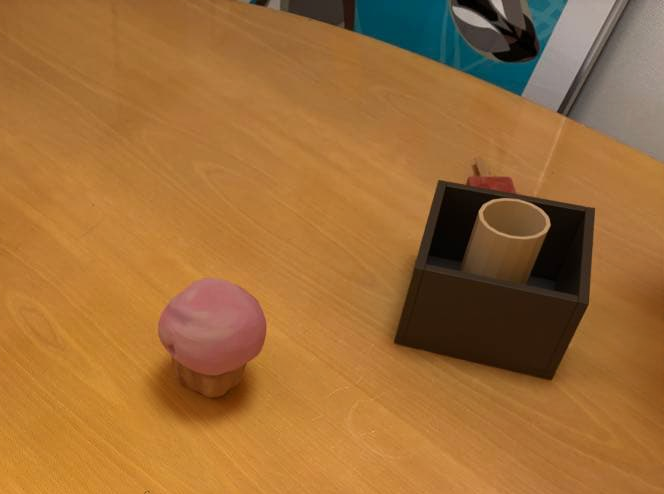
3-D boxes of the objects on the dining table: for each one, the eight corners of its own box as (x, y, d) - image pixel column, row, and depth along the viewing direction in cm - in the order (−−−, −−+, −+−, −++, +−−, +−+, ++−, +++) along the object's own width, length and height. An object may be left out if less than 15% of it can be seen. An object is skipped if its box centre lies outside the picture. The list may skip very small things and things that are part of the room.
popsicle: (500, 149, 96) (534, 234, 87) (496, 163, 98) (528, 248, 88) (459, 149, 97) (487, 234, 87) (455, 162, 98) (483, 247, 88)
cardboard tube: (522, 300, 81) (558, 211, 74) (502, 336, 78) (538, 246, 71) (462, 279, 84) (491, 191, 76) (441, 313, 80) (469, 224, 73)
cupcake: (209, 332, 81) (214, 246, 73) (280, 381, 76) (293, 294, 69) (139, 381, 77) (136, 295, 70) (210, 435, 73) (215, 349, 65)
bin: (561, 284, 84) (595, 207, 77) (552, 380, 76) (589, 304, 69) (417, 254, 87) (438, 179, 81) (393, 343, 79) (414, 267, 73)
